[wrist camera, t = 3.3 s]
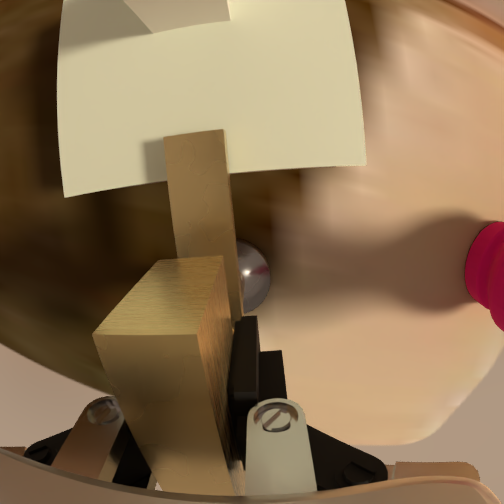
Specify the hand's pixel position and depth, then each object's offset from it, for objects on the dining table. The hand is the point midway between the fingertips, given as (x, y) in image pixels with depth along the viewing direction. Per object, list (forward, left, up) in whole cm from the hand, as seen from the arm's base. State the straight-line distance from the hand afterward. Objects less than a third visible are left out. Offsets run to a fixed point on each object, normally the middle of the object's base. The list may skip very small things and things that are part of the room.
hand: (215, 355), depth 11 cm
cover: (-12, 0, -3) cm, 12 cm away
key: (-2, 0, -7) cm, 7 cm away
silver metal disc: (0, 0, -8) cm, 8 cm away
